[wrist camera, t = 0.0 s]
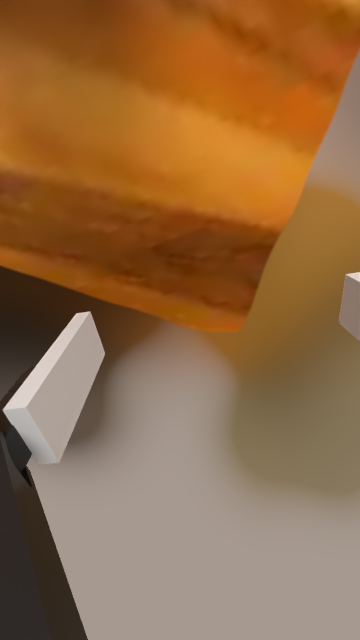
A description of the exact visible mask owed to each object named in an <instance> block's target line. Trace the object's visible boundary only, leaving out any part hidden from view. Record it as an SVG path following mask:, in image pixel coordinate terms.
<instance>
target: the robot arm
mask: <svg viewBox="0 0 360 640" xmlns="http://www.w3.org/2000/svg"><path fill="white" fill-rule="evenodd" d="M339 323H340V324H341V325H342V326H343V327H344V328H345V329H346V330H348V331H349V332H350V333H351V334H352V335H353V336H354V337H356V338H357V339H358V340H359V341H360V272H358V273H352V274H346V276H345V283H344V289H343V296H342V303H341V310H340V316H339ZM104 355H105V352H104V349H103V346H102V343H101V340H100V338H99V335H98V332H97V329H96V326H95V323H94V321H93V318H92V315H91V312H83V313H76V315H75V316H74V317H73V319H72V320H71V321H70V323H69V324H68V325H67V327H66V328H65V329H64V330H63V332H62V333H61V334H60V336H59V337H58V338H57V340H56V341H55V342H54V343H53V345H52V346H51V347H50V349H49V350H48V351H47V353H46V354H45V355H44V356H43V358H42V359H41V361H40V362H39V363H38V364H37V366H34V367H31V368H30V369H29V370H27V371H26V372H25V373H24V374H22V375H21V376H20V378H19V379H18V380H17V381H16V383H15V384H14V386H12V388H11V389H10V390H9V393H7V394H6V395H5V396H4V398H3V399H2V400H1V401H0V640H88V639H87V636H86V633H85V630H84V627H83V624H82V621H81V619H80V615H79V613H78V610H77V607H76V604H75V601H74V598H73V595H72V592H71V589H70V587H69V584H68V581H67V578H66V575H65V572H64V569H63V566H62V563H61V560H60V557H59V554H58V551H57V549H56V545H55V543H54V540H53V537H52V534H51V531H50V529H49V525H48V522H47V519H46V516H45V513H44V511H43V507H42V504H41V502H40V499H39V496H38V493H37V490H36V487H35V484H34V481H33V478H32V475H31V472H30V470H29V469H28V467H27V466H26V465H27V463H28V461H29V459H30V457H31V455H32V456H33V458H34V459H35V461H36V462H37V464H38V465H45V464H55V463H59V462H60V460H61V458H62V455H63V453H64V450H65V448H66V446H67V443H68V441H69V439H70V436H71V434H72V431H73V429H74V427H75V424H76V422H77V420H78V417H79V415H80V412H81V410H82V408H83V405H84V403H85V401H86V398H87V396H88V393H89V391H90V389H91V386H92V384H93V381H94V379H95V377H96V374H97V372H98V370H99V367H100V365H101V362H102V360H103V358H104Z"/></svg>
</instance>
